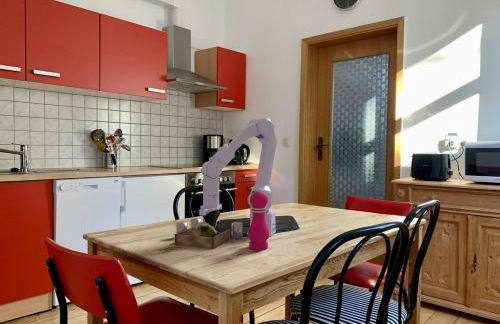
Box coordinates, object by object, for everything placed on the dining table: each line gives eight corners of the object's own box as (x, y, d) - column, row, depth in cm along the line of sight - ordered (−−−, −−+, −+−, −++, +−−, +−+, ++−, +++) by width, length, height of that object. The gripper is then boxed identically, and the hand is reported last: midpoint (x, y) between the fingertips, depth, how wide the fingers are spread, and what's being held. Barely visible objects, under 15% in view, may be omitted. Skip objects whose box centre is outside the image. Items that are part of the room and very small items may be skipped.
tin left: (244, 237, 141) (244, 222, 141) (240, 239, 138) (240, 224, 137) (234, 236, 143) (234, 221, 142) (229, 238, 139) (230, 223, 139)
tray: (230, 239, 138) (230, 229, 138) (213, 248, 125) (213, 238, 125) (194, 235, 143) (194, 226, 143) (174, 244, 130) (174, 234, 130)
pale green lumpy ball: (210, 249, 128) (205, 226, 126) (188, 247, 132) (184, 225, 131) (225, 238, 135) (221, 216, 134) (204, 237, 140) (200, 216, 139)
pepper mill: (262, 251, 122) (262, 189, 121) (243, 248, 126) (243, 188, 125) (273, 246, 128) (273, 187, 128) (254, 243, 132) (255, 186, 131)
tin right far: (189, 236, 141) (189, 222, 141) (183, 239, 137) (183, 224, 137) (179, 235, 143) (179, 221, 142) (174, 238, 139) (174, 223, 139)
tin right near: (202, 232, 148) (202, 218, 148) (198, 234, 144) (198, 220, 144) (193, 231, 150) (193, 217, 149) (188, 233, 146) (188, 219, 146)
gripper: (209, 191, 146) (209, 226, 147) (191, 196, 133) (191, 235, 133) (226, 192, 144) (226, 228, 145) (209, 197, 130) (209, 237, 131)
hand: (211, 231), depth 139 cm, fingers closed
